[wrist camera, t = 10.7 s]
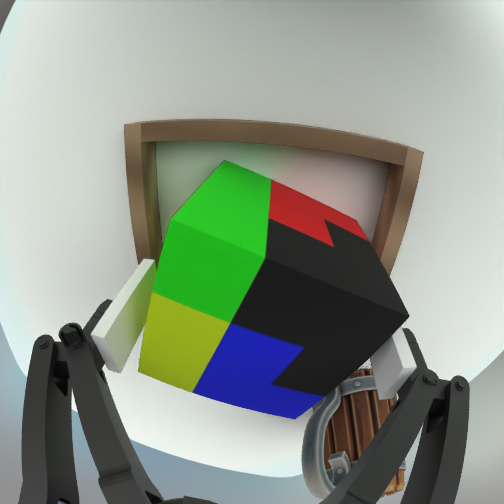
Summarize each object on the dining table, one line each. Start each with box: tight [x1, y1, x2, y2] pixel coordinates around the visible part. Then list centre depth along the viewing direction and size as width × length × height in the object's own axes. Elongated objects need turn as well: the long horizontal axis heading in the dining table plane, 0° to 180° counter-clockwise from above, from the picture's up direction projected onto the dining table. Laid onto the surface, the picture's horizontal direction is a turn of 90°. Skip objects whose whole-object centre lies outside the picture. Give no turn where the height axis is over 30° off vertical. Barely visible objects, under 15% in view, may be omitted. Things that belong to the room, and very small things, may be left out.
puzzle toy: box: [138, 161, 409, 419], centre depth 16 cm, size 10×10×10 cm
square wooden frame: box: [124, 119, 424, 276], centre depth 19 cm, size 18×18×2 cm
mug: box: [302, 369, 406, 499], centre depth 22 cm, size 16×11×15 cm
